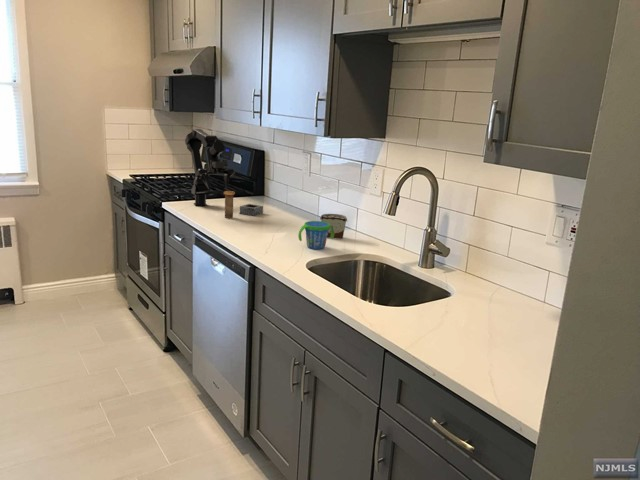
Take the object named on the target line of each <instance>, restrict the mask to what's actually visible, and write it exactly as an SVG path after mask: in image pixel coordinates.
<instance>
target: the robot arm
mask: <svg viewBox="0 0 640 480" xmlns="http://www.w3.org/2000/svg"><path fill="white" fill-rule="evenodd" d="M184 142H185V143H184V144H185V145H186V149H187V150H188V151H189V152H190V154H191V160H192V165H193V171H194V175H195V177H194V180H193V185H192V187H191V189H190V192H191V194H192V195H194V198H195V199H194V202H193V205H194V206H195V207H208V204H207V195H210V192H211V184H210V180H209V175H223V176H224V177H223V182H224V186H225V187H224V188H225V189H226V190H228V186H229V182H230V178H231V177H232V176H233V175H234V174H236V171H235V169H234V167H233V168H232V167H229V168H227V167H228V165H229V162H228V160H227V159H223V160H222V161H221V159H220V158H219V157H220V155H221V154H222V153H223V152H224V151H225V145H224V143H223V142H222V141H221V140H220V139H219V138H218V136H217V135H214V134H213V135H212V134H208V133H207V132H206V131H204V130H203V129H200V128H195V129H192V131H190V132H189V133H188V134H186V137H185V139H184ZM202 146H203V147H204V148H206V150H205V154H206V158H207V159H206V160H207V166H208V169H207V168H204V167H203V160H202V156H201V148H202ZM225 167H226V168H225ZM223 169H224V170H223Z"/></svg>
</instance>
